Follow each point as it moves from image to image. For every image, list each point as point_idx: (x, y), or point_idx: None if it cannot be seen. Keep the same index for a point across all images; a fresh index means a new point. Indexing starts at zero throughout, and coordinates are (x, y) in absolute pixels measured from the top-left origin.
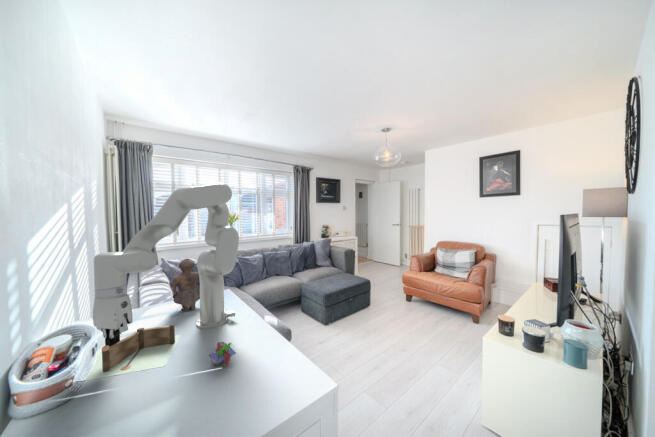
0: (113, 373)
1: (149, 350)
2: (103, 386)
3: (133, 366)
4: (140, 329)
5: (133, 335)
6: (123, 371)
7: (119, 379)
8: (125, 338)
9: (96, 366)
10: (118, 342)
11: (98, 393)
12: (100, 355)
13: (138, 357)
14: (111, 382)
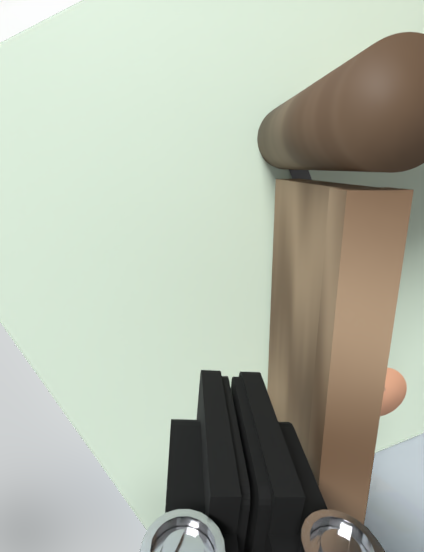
0: None
1: (404, 171)
2: (366, 511)
3: (421, 373)
4: (406, 117)
5: (393, 297)
6: (392, 422)
7: (409, 462)
8: (349, 398)
9: (151, 409)
10: (335, 485)
11: (384, 545)
12: (12, 291)
13: None
14: (383, 485)
